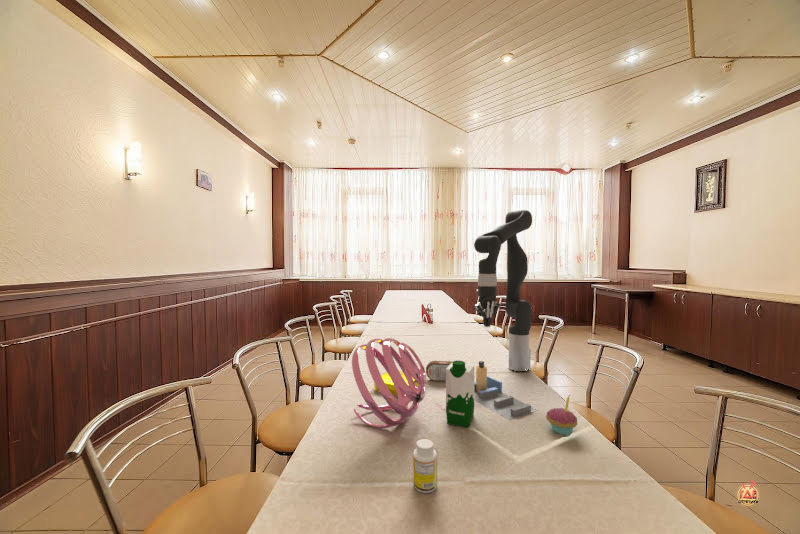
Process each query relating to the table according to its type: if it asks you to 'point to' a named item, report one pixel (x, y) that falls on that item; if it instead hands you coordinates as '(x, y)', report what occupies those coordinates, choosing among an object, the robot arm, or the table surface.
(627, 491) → the table surface
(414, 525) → the table surface
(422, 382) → the spiral basket
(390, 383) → the element tile
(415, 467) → the supplement bottle
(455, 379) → the milk carton
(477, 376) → the yellow bottle
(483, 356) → the table surface
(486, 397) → the slotted grey board
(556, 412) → the cupcake
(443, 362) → the tin
